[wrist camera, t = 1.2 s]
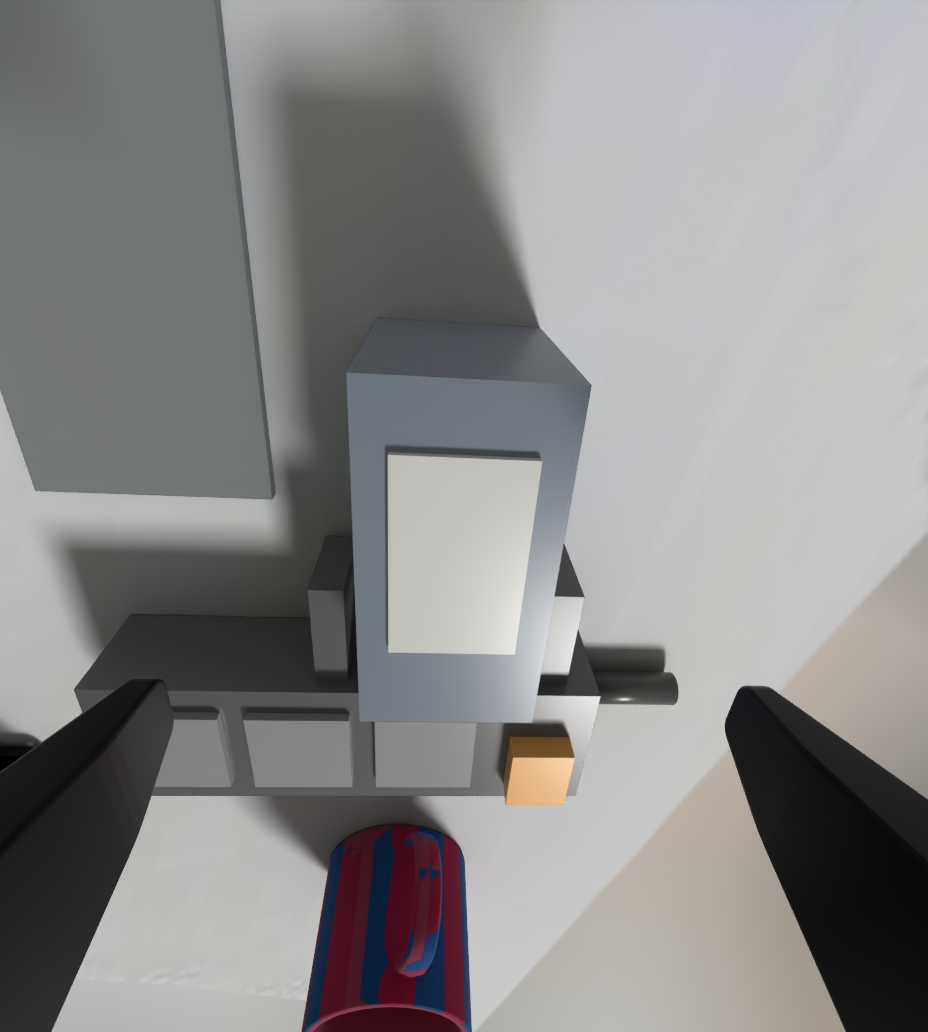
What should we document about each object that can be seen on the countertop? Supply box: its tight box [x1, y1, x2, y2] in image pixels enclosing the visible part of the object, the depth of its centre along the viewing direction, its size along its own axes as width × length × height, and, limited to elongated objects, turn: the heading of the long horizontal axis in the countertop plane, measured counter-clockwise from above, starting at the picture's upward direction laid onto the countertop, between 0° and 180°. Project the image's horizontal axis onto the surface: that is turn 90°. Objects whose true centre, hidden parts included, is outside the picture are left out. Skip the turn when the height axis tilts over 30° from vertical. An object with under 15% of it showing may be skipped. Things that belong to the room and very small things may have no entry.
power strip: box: [74, 536, 678, 805], centre depth 19 cm, size 20×8×4 cm, turn 86°
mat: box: [0, 0, 276, 499], centre depth 14 cm, size 7×12×1 cm, turn 176°
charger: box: [346, 318, 591, 723], centre depth 15 cm, size 4×9×6 cm, turn 176°
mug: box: [302, 824, 472, 1032], centre depth 24 cm, size 7×10×7 cm
